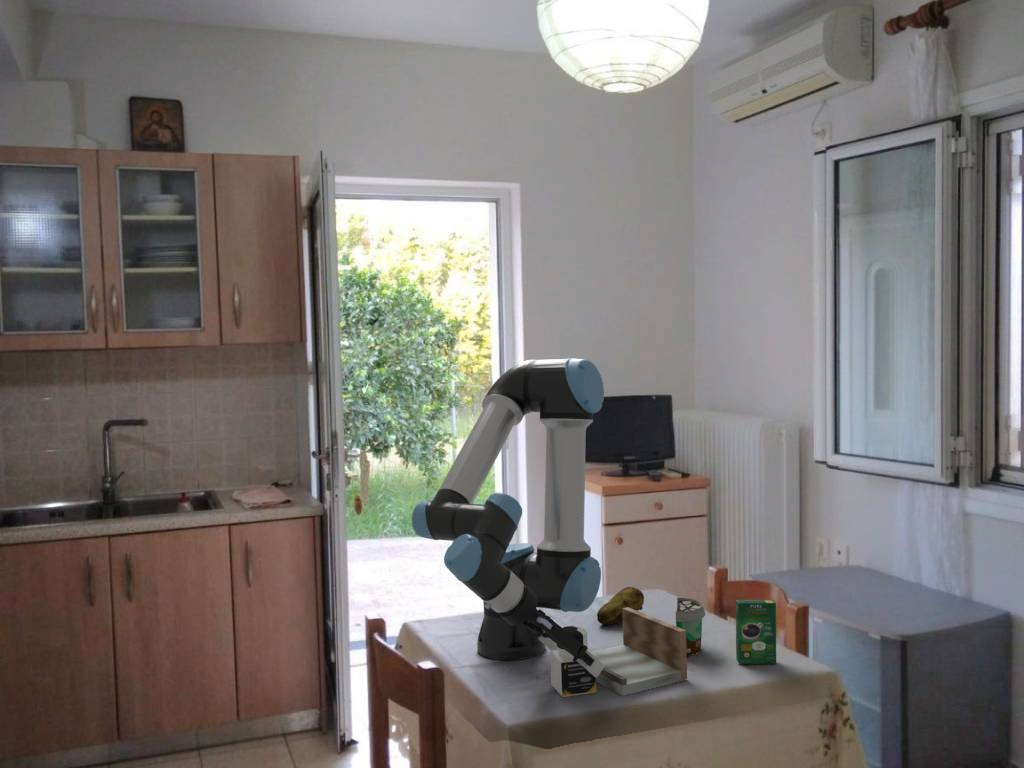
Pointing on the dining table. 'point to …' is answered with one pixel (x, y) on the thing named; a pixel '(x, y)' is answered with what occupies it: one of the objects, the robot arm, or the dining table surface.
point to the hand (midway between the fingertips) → (581, 661)
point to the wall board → (643, 655)
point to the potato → (620, 605)
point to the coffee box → (756, 631)
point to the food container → (690, 622)
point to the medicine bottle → (571, 669)
